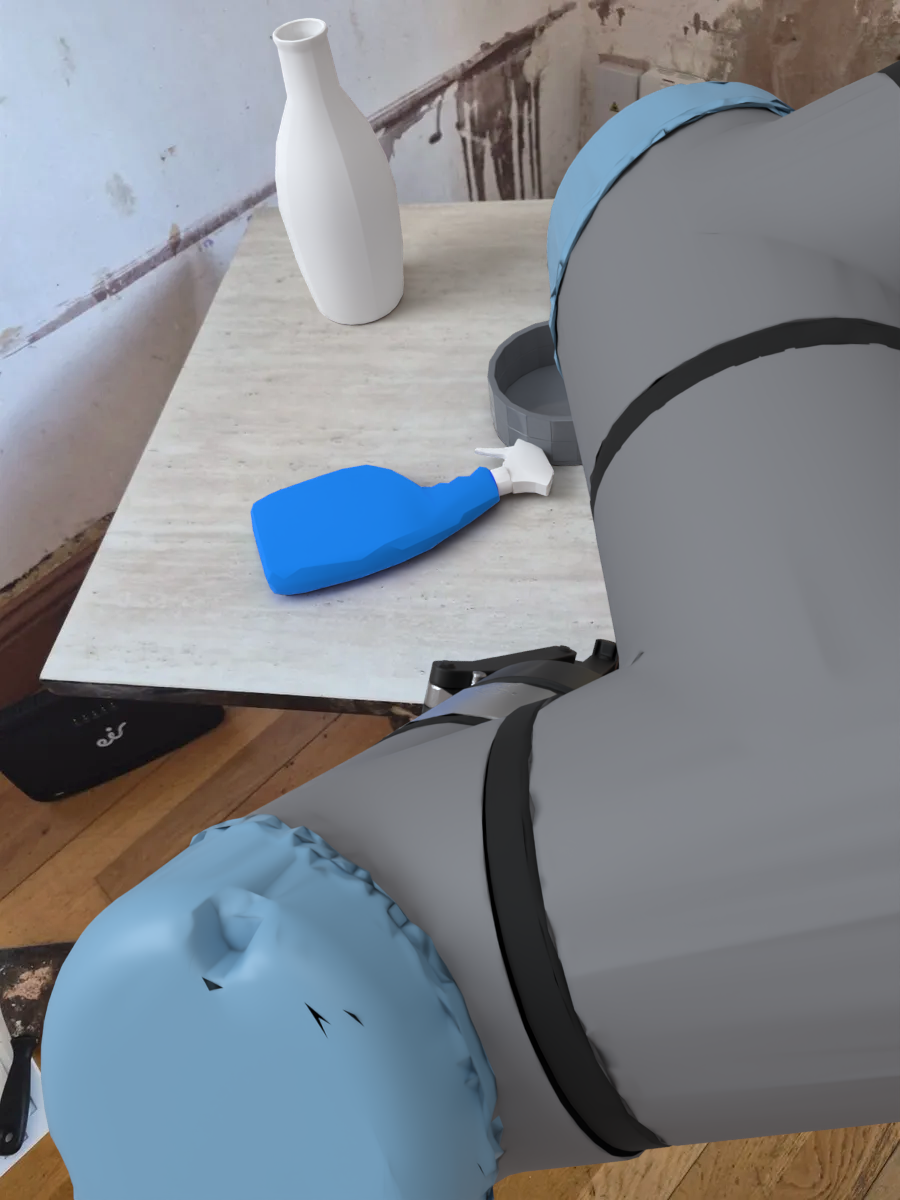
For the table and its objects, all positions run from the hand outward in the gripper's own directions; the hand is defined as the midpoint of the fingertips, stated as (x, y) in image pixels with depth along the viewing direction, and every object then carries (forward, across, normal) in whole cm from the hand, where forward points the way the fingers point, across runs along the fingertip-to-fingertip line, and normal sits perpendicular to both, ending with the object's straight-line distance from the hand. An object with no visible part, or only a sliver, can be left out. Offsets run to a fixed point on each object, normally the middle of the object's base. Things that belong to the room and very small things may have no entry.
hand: (650, 663), depth 49 cm
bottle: (+38, -42, +20) cm, 60 cm away
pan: (+31, -16, +13) cm, 37 cm away
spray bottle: (+20, -24, +2) cm, 31 cm away
